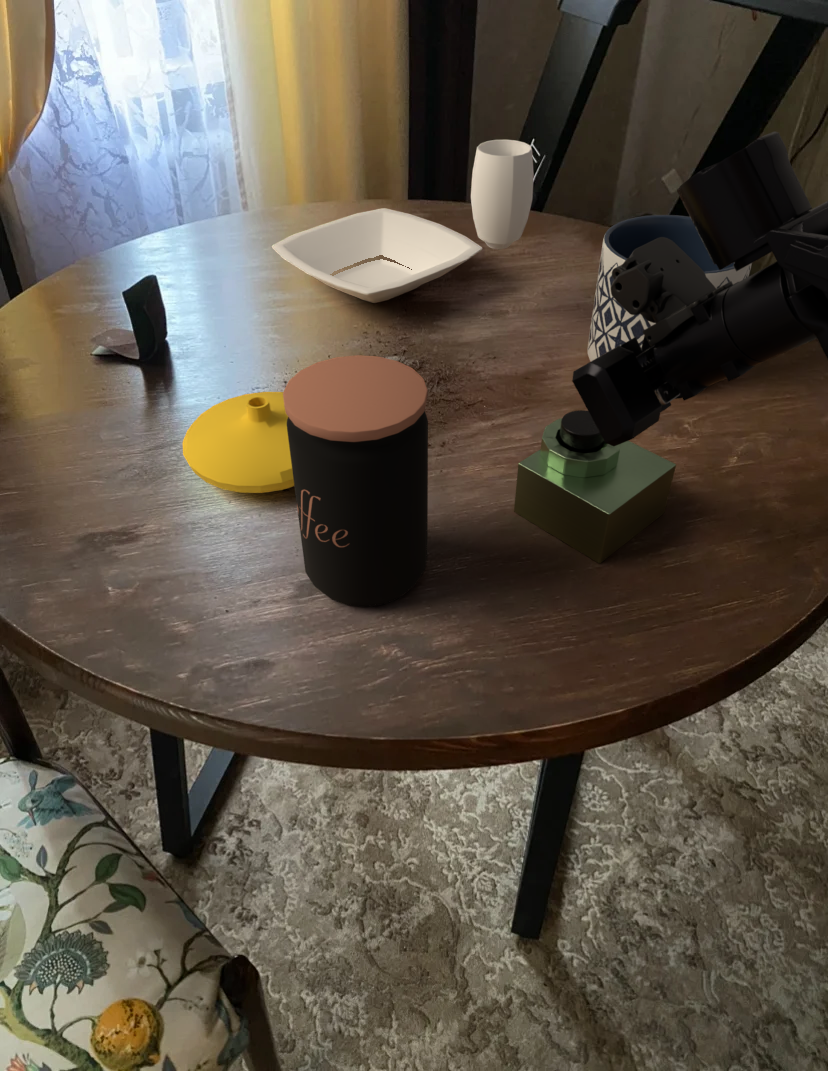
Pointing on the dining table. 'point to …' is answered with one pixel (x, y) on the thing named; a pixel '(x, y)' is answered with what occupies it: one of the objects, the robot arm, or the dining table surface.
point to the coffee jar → (360, 476)
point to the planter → (618, 244)
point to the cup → (501, 191)
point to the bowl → (377, 252)
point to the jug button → (580, 433)
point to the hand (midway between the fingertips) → (598, 397)
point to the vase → (242, 444)
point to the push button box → (592, 493)
